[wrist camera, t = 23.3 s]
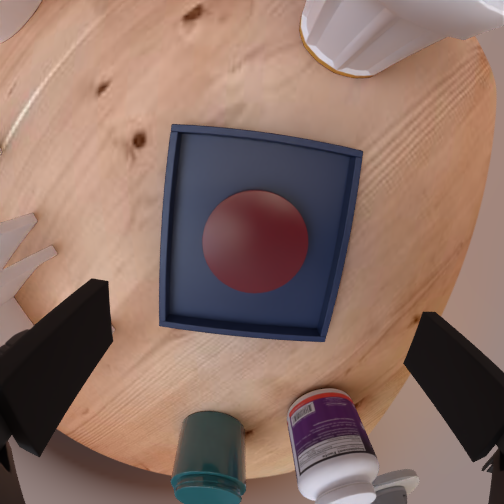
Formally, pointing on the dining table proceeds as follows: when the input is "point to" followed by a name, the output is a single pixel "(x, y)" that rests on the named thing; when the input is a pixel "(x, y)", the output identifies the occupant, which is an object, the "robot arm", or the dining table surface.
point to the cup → (388, 29)
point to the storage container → (17, 274)
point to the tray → (241, 178)
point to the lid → (255, 241)
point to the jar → (210, 460)
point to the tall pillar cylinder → (15, 16)
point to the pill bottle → (331, 449)
